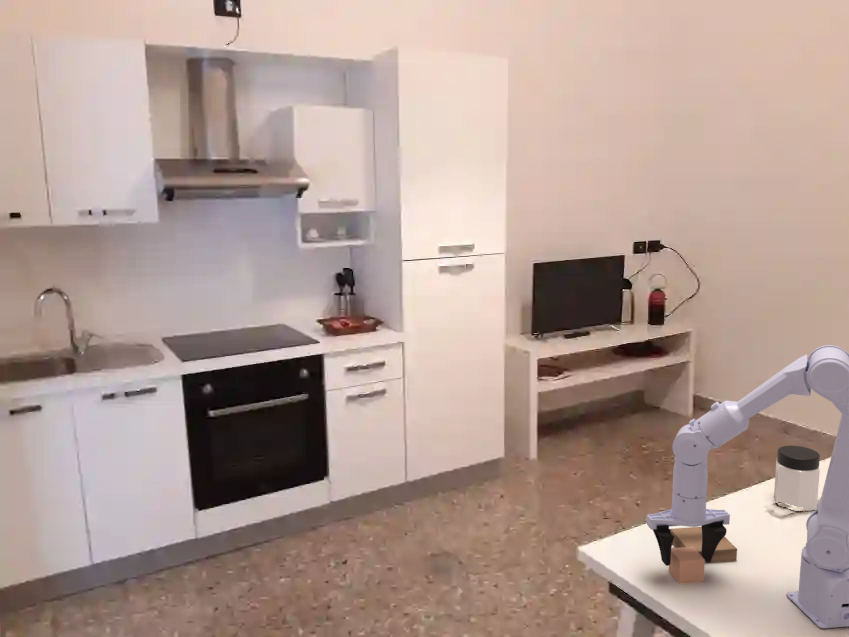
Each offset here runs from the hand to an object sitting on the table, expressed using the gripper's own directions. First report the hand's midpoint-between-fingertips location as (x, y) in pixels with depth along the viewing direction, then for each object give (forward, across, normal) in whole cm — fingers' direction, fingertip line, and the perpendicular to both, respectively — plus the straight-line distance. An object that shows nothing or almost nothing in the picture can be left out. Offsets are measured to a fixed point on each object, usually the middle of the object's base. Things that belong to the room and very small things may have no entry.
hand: (686, 561), depth 126 cm
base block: (+3, -7, -8) cm, 11 cm away
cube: (+3, 0, 0) cm, 3 cm away
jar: (+3, -36, -24) cm, 43 cm away
